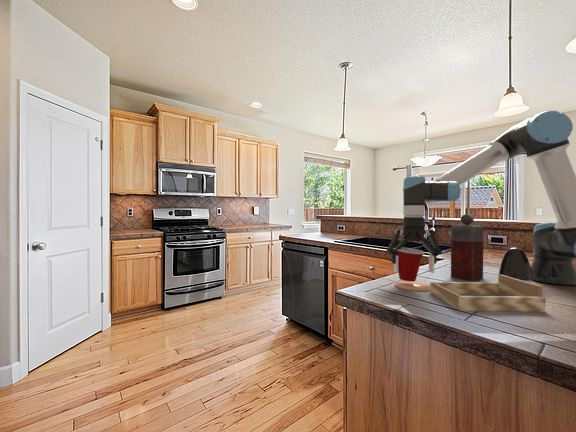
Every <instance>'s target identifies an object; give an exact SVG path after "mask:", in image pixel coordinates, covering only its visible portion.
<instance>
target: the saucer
mask: <svg viewBox="0 0 576 432" xmlns="http://www.w3.org/2000/svg"><path fill="white" fill-rule="evenodd" d="M394 287H396V288H399V289H401V290H406V291H409V292H410V291H411V292H430V282H429V283H428V282H425V281H418V280H415V281H413V282H411V281H403V280H397V281H395V286H394Z"/></svg>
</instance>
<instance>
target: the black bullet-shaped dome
mask: <svg viewBox="0 0 576 432" xmlns="http://www.w3.org/2000/svg"><path fill="white" fill-rule="evenodd" d="M499 275H505V276H508V277H512V278H515V279H519V280H522V281H526V282H529V283H532V281H533V280H532V271H531V264H530V261H529V258H528V256H527V255H526V253H525V251H524V250H523V249H521V248H519V247H516V246H515V247H513V246H512V247H510V248H508V249H507V250H506V251H505V252H504V254H503V256H502V259H501V262H500V265H499V269H498V276H499Z"/></svg>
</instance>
